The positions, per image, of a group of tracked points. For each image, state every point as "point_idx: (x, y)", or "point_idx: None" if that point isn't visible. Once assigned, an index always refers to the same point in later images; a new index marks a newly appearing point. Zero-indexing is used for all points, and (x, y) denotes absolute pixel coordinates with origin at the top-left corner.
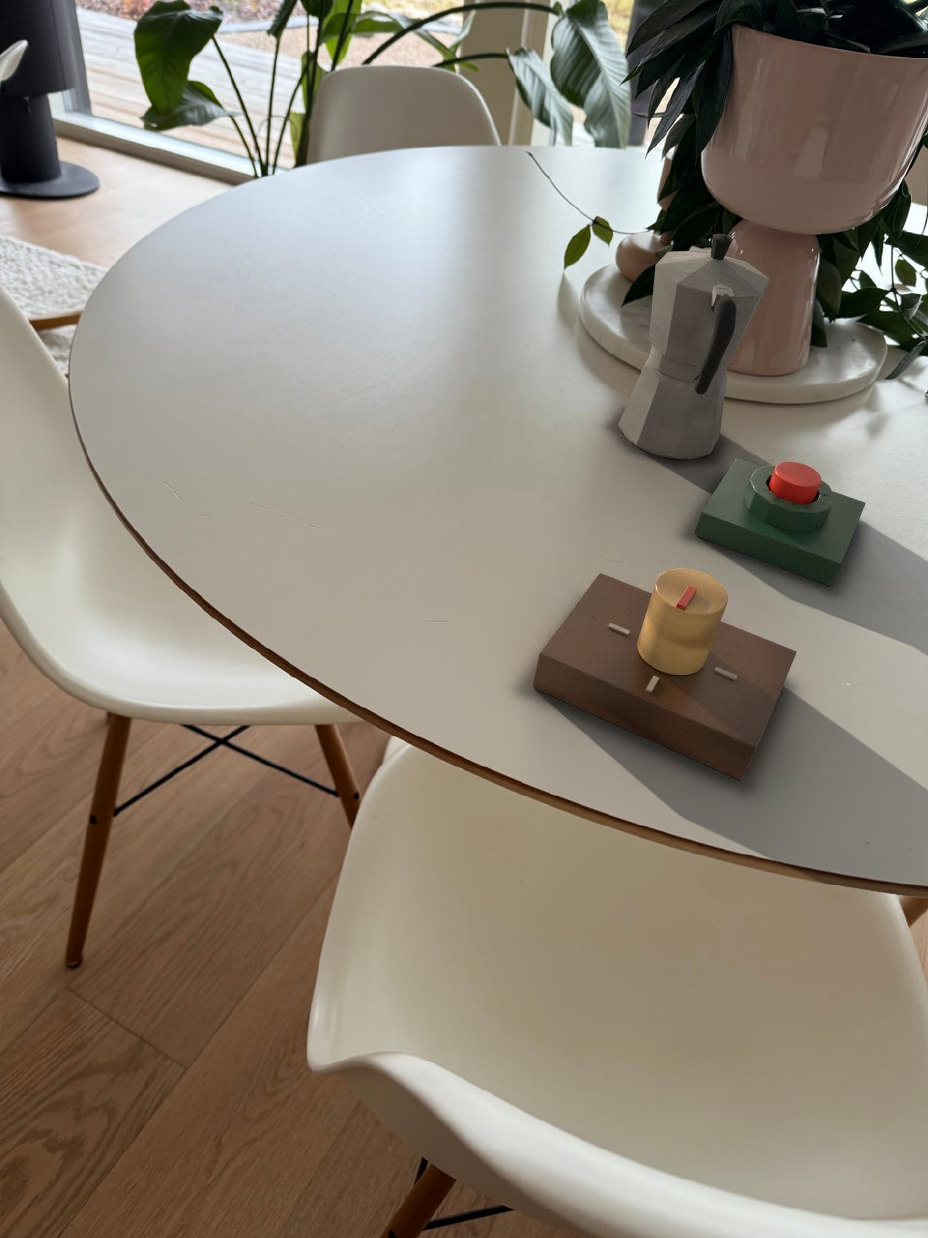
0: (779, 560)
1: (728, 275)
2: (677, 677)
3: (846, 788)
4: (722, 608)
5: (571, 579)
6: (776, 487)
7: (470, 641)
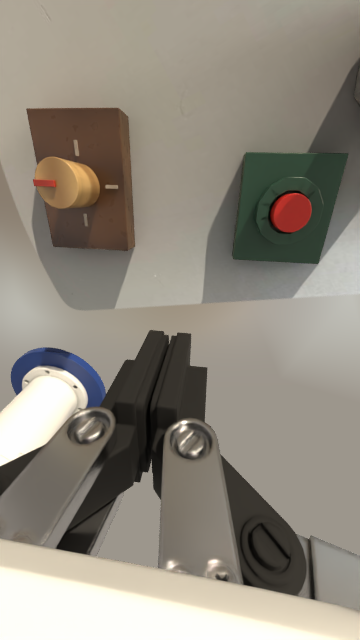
0: (236, 221)
1: None
2: None
3: (92, 283)
4: (56, 207)
5: (144, 88)
6: (277, 201)
7: (48, 53)
